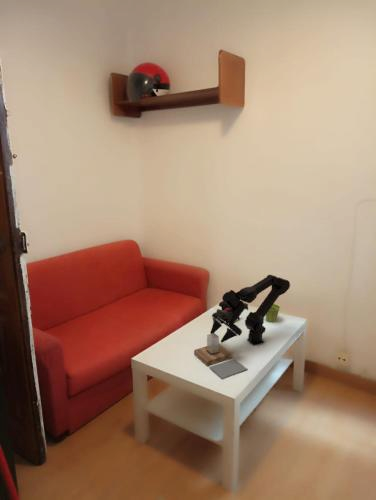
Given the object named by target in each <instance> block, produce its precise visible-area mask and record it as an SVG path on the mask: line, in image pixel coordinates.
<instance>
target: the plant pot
mask: <svg viewBox="0 0 376 500" xmlns="http://www.w3.org/2000/svg"><path fill="white" fill-rule="evenodd" d="M280 309H281V305H279V304H276V303H274V304H273V305H272V307H271V308H270V309H269V311H268V312H267V314H266V315H265V321H267V322H268V323H275V322H277V320H278V315H279V311H280Z"/></svg>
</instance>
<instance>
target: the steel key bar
mask: <svg viewBox="0 0 376 500" xmlns="http://www.w3.org/2000/svg"><path fill="white" fill-rule="evenodd" d="M206 335H207V336H206V346H207V352H208V353H209V354H210V355H214V354H218V353H219V344H220V343H219V342H220V340H219V335H218V334H216V332H215V333H212V334H206Z"/></svg>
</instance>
